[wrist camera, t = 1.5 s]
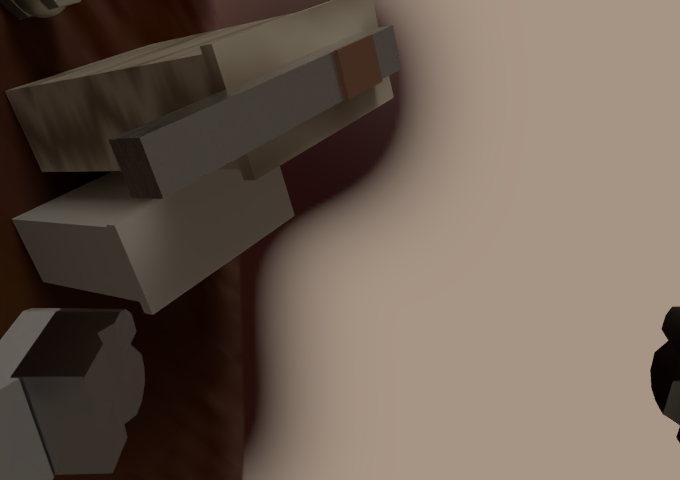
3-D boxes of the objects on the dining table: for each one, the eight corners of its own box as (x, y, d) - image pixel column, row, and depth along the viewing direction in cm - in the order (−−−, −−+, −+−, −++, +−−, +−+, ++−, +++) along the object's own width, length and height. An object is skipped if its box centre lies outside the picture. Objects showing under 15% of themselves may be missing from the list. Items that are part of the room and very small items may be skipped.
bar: (132, 198, 31) (167, 199, 29) (107, 138, 30) (143, 136, 28) (372, 73, 46) (405, 68, 44) (362, 29, 45) (396, 23, 43)
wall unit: (-5, 86, 50) (211, 43, 34) (151, 38, 61) (370, -12, 45) (39, 179, 53) (255, 180, 37) (179, 117, 64) (393, 97, 48)
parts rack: (3, 216, 51) (114, 225, 41) (154, 145, 62) (271, 139, 52) (40, 289, 54) (153, 314, 44) (179, 209, 65) (294, 215, 55)
